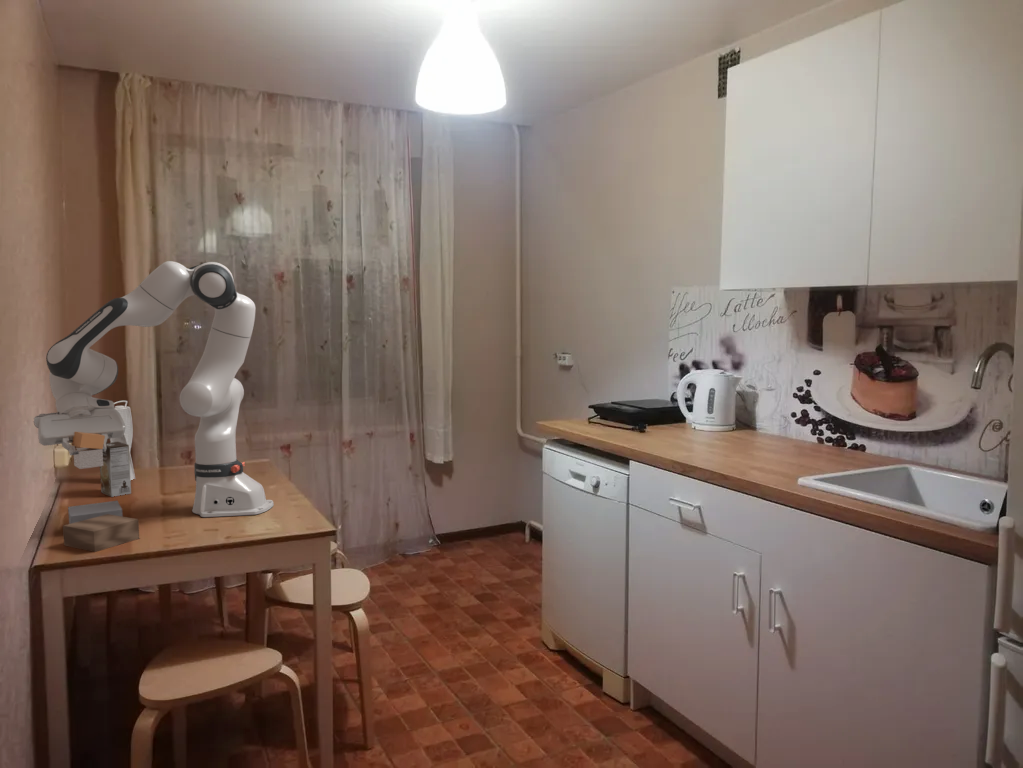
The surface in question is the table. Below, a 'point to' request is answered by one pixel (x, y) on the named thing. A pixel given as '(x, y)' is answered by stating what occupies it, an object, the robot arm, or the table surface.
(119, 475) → the coffee box
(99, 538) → the stand
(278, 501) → the table surface
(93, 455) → the housing base
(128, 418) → the skyscraper
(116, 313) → the robot arm
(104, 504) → the stand
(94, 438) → the cover
